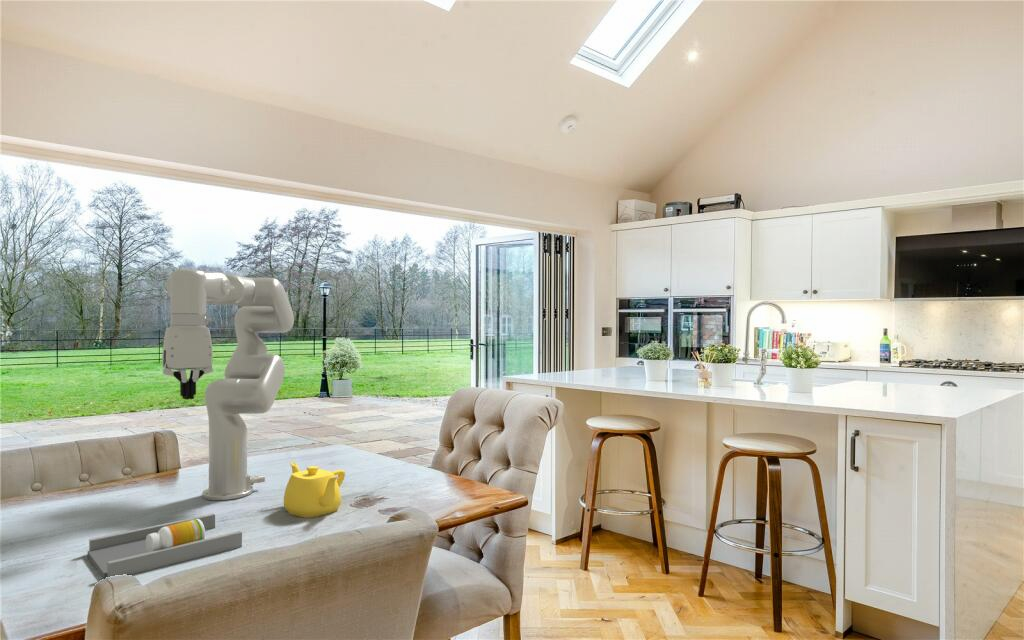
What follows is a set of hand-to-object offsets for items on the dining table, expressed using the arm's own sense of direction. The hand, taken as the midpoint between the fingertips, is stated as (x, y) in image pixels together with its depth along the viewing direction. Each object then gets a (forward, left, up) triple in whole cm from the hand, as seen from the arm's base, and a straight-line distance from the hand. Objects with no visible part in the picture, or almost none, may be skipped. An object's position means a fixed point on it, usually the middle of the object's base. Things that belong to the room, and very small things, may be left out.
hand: (188, 398), depth 146 cm
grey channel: (+9, +17, -29) cm, 35 cm away
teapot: (-27, +12, -29) cm, 42 cm away
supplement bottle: (+4, +21, -25) cm, 33 cm away
